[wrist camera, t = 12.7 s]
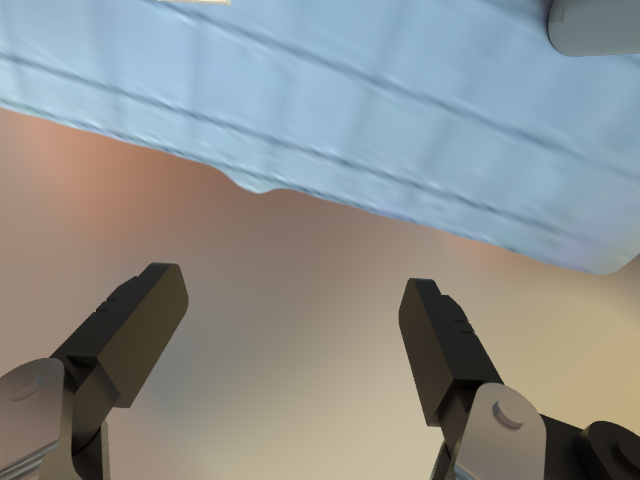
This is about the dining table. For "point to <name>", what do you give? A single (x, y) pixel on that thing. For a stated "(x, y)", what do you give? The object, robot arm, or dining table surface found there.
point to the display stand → (202, 1)
